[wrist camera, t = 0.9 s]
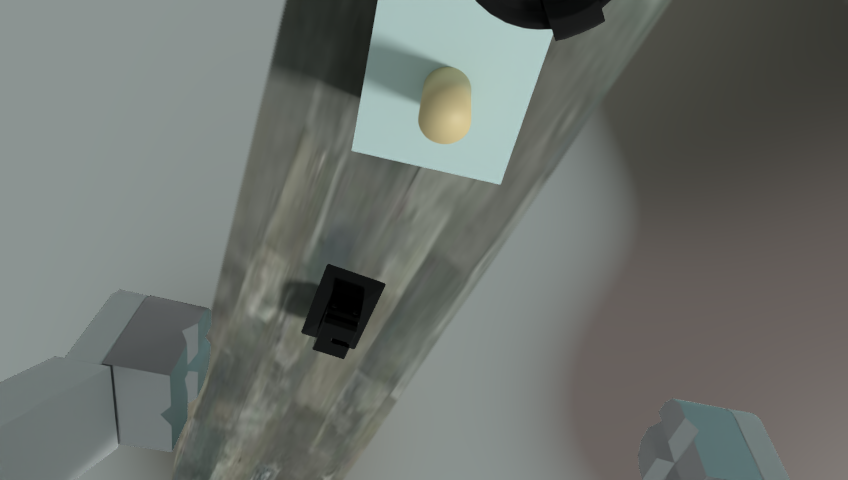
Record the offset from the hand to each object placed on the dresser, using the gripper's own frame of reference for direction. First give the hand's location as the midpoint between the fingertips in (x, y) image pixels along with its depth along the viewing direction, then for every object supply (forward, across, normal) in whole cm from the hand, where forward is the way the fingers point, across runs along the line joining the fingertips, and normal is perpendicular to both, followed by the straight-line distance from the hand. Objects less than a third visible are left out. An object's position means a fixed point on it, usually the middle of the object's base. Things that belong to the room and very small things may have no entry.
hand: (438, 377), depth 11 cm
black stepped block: (+36, +3, +30) cm, 47 cm away
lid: (+28, -1, +5) cm, 28 cm away
